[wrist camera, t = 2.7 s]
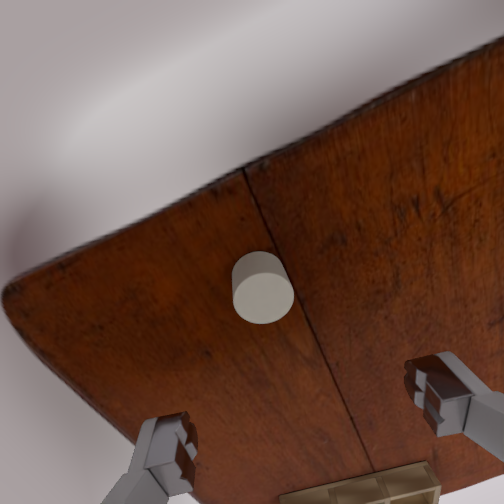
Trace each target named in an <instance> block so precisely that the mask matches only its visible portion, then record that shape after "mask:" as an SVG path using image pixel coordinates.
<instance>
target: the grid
mask: <svg viewBox="0 0 504 504" xmlns="http://www.w3.org/2000/svg"><path fill="white" fill-rule="evenodd" d="M440 491H441V484H440V482H439V481H438V479H437V477H436V476H435V474H434V472H433V471H432V469H431V468H430V466H429V464H428V463H427V461H423V462H419V463H415V464H410V465H406V466H402V467H398V468H394V469H389V470H385V471H381V472H377V473H373V474H368V475H364V476H360V477H356V478H352V479H347V480H343V481H339V482H335V483H331V484H326V485H322V486H318V487H314V488H310V489H305V490H301V491H297V492H293V493H289V494H284V495H280V496H279V500H280V504H438V502H439V497H440Z"/></svg>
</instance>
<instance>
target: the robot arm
mask: <svg viewBox="0 0 504 504" xmlns="http://www.w3.org/2000/svg"><path fill="white" fill-rule="evenodd" d="M404 368H405V369H406V371H407V373H406V375H405V376H404V384H405V387H406V390H407V392H408V394H409V396H410V398H411V400H412V401H413V403H414V404H415V405H417V406H418V407H420V408H422V409H423V417H424V419H425V420H426V421H427V423H428V424H429V426H430V427H431V429H432V430H433V432H434V433H435V434H436V436H437V437H441V436H446V435H451V434H457V433H462V432H464V434H465V435H466V436H467V437H469V438H470V439H472V440H473V441H475V442H476V443H477V444H479V445H480V446H482V447H483V448H484V449H486V450H487V451H489V452H490V453H492V454H493V455H494V456H496V457H497V458H499V459H500V460H501V461H503V462H504V394H503V393H500V392H498V391H495V392H492V391H491V390H490V389H489V388H488V387H487V386H486V385H485V384H484V383H483V382H482V381H481V380H480V379H479V378H478V377H477V376H476V375H475V374H474V373H473V372H472V371H471V370H470V369H469V368H467V367H466V366H465V365H464V364H463V363H462V362H461V361H460V360H459V359H458V358H457V357H456V356H455V355H454V354H453V353H451V352H449V351H446V352H442V353H438V354H434V355H433V354H432V355H427V356H423V357H419V358H415V359H411V360H407V361H406V362H405V365H404ZM189 419H190V416H189V414H188V412H187V411H185V412H180V413H175V414H170V415H166V416H161V417H156V418H151V419H147V420H145V421H144V423H143V424H142V426H141V430H140V433H139V436H138V440H137V443H136V446H135V449H134V453H133V456H132V460H131V463H130V466H129V469H128V473H127V474H123V475H122V476H121V478H120V479H119V481H118V482H117V483H116V484H115V486H114V487H113V489H112V490H111V491H110V492H109V494H108V495H107V496H106V498H105V499H104V500H103V501H102V503H101V504H167V502H168V500H169V497H171V496H175V495H179V494H183V493H187V492H191V491H193V488H194V479H195V469H196V467H195V465H194V463H193V462H192V460H193V459H194V457H195V456H196V454H197V449H198V436H197V431H196V427H195V425H194V424H193V423H191V422H189Z"/></svg>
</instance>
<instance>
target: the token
mask: <svg viewBox="0 0 504 504" xmlns="http://www.w3.org/2000/svg"><path fill="white" fill-rule="evenodd" d="M232 288H233V304H234V307H235V310H236V311H237V313H238V314H239V315H240V316H241V317H242V318H243V319H245V320H247V321H249V322H252V323H257V324H266V323H271V322H274V321H276V320H278V319H280V318H281V317H283V316H284V315H285V314H286V313H287V312H288V311H289V310H290V308H291V306H292V304H293V300H294V291H293V288H292V286H291V283H290V281H289V279H288V277H287V274H286V272H285V270H284V267H283V265H282V263H281V262H280V260H279V259H278V258H277V257H276V256H274V255H273V254H270V253H267V252H262V251H257V252H252V253H249V254H246V255H245V256H243V257H242V258H240V259H239V260H238V261H237V263H236V264H235V266H234V268H233V271H232Z"/></svg>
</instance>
